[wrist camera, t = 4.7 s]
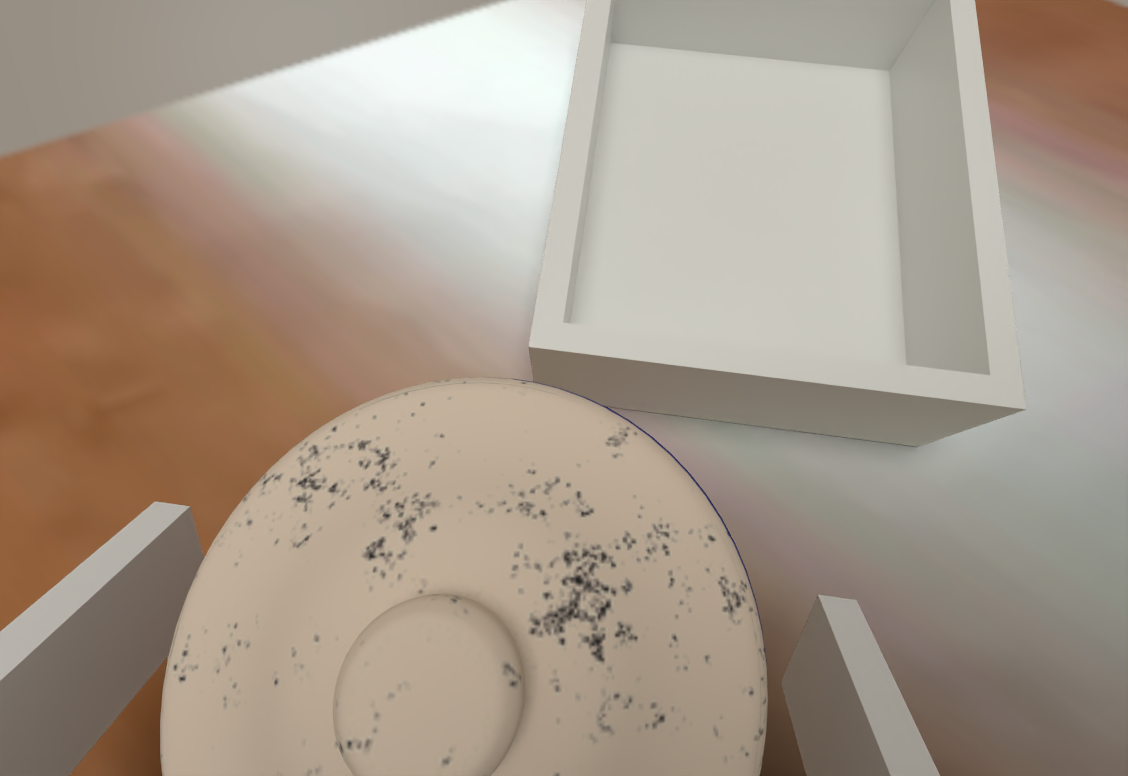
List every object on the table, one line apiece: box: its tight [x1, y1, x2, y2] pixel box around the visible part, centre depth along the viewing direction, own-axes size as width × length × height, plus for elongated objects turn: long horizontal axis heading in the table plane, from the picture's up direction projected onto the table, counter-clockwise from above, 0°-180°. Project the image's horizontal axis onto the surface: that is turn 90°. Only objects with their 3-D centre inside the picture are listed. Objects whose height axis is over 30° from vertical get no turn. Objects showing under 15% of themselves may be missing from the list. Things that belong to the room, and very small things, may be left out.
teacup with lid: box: [160, 377, 768, 776], centre depth 11 cm, size 12×9×12 cm
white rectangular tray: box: [528, 0, 1026, 447], centre depth 19 cm, size 13×16×4 cm
